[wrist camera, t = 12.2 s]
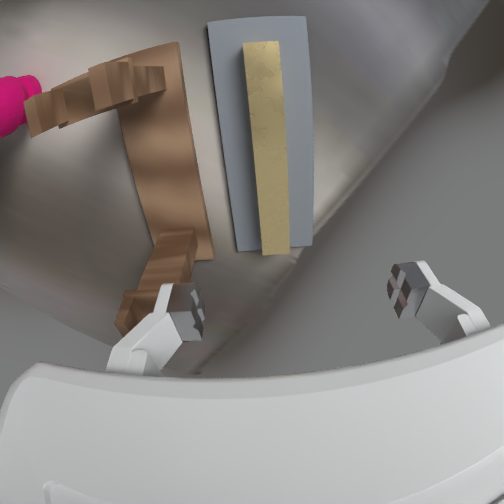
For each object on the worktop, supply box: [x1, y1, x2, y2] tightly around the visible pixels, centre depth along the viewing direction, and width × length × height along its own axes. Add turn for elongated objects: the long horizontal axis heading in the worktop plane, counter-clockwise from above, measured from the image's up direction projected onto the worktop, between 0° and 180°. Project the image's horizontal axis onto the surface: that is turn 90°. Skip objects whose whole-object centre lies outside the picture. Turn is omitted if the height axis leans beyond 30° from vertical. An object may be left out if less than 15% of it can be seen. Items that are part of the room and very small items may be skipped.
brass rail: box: [243, 41, 290, 256], centre depth 25 cm, size 22×3×2 cm, turn 5°
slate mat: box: [207, 16, 314, 252], centre depth 26 cm, size 26×9×1 cm, turn 5°
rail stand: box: [24, 42, 215, 342], centre depth 22 cm, size 25×7×15 cm, turn 5°
